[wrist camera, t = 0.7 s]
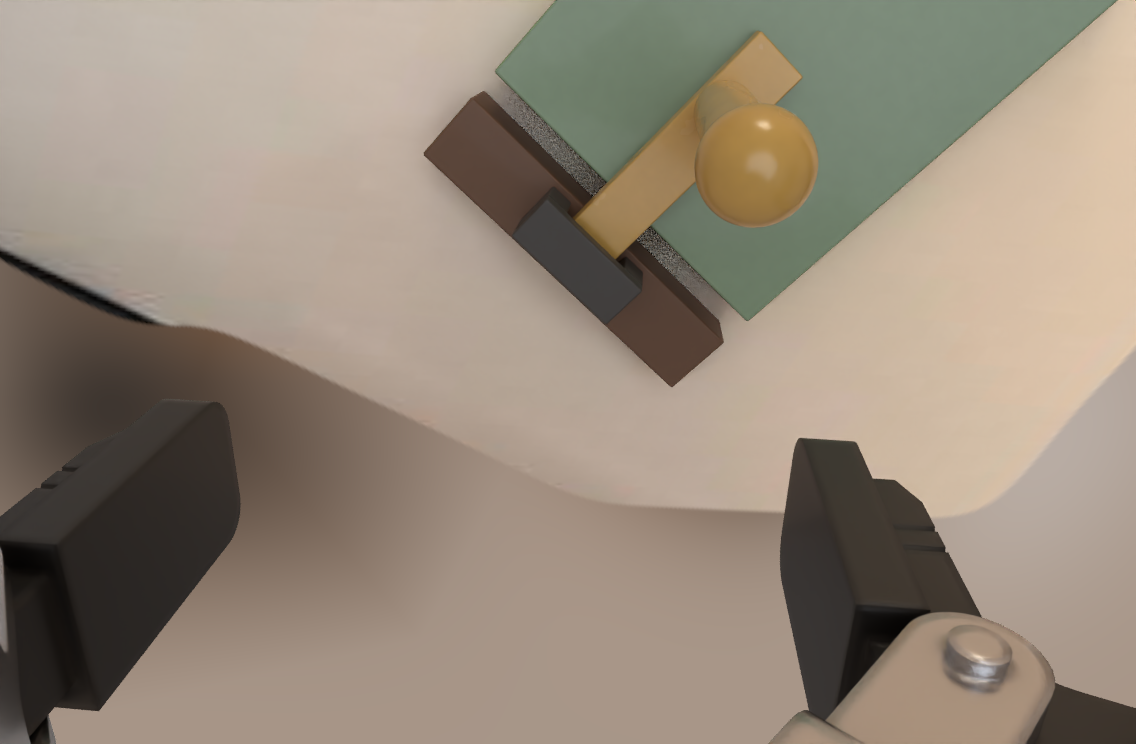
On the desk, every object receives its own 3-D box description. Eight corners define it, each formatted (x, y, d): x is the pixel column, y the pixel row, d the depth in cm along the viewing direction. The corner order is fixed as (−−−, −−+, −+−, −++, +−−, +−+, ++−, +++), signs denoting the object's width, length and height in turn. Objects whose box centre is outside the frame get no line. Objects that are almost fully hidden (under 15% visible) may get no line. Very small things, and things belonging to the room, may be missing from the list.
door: (1117, -29, 32) (1194, -32, 27) (670, 365, 39) (672, 413, 35) (867, -352, 28) (907, -416, 24) (436, 143, 36) (406, 165, 32)
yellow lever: (805, 82, 32) (899, 139, 19) (594, 286, 35) (563, 439, 23) (750, 20, 31) (810, 40, 19) (540, 235, 35) (480, 365, 23)
